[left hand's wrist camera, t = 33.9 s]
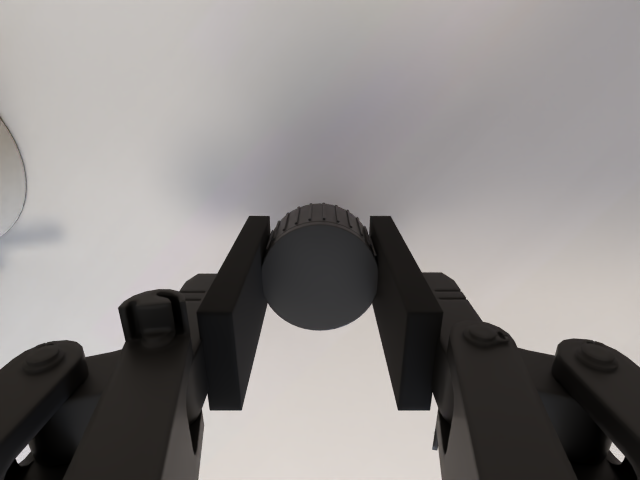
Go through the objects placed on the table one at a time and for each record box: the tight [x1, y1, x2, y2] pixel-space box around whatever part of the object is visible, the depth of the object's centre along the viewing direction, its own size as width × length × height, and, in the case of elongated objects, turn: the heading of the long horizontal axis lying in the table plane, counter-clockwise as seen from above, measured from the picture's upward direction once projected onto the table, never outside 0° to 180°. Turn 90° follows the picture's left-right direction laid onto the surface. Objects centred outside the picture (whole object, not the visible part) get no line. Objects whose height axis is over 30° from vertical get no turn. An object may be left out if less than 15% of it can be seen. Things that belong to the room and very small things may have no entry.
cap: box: [261, 203, 378, 330], centre depth 13 cm, size 4×4×2 cm
